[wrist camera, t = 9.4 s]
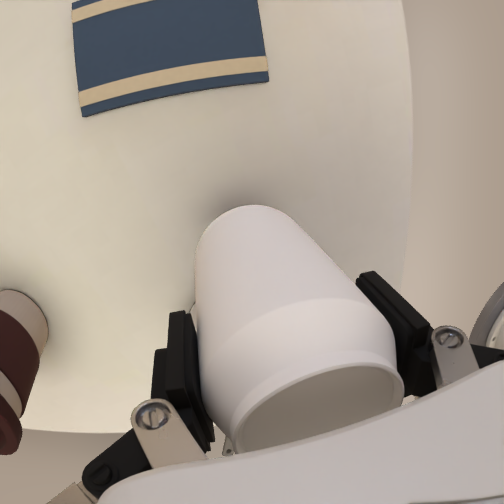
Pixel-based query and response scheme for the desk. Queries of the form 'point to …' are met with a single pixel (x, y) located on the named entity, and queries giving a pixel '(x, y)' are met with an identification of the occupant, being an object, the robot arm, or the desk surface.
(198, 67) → the towel
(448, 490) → the robot arm
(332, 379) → the beverage can
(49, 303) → the desk surface
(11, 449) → the coffee cup
